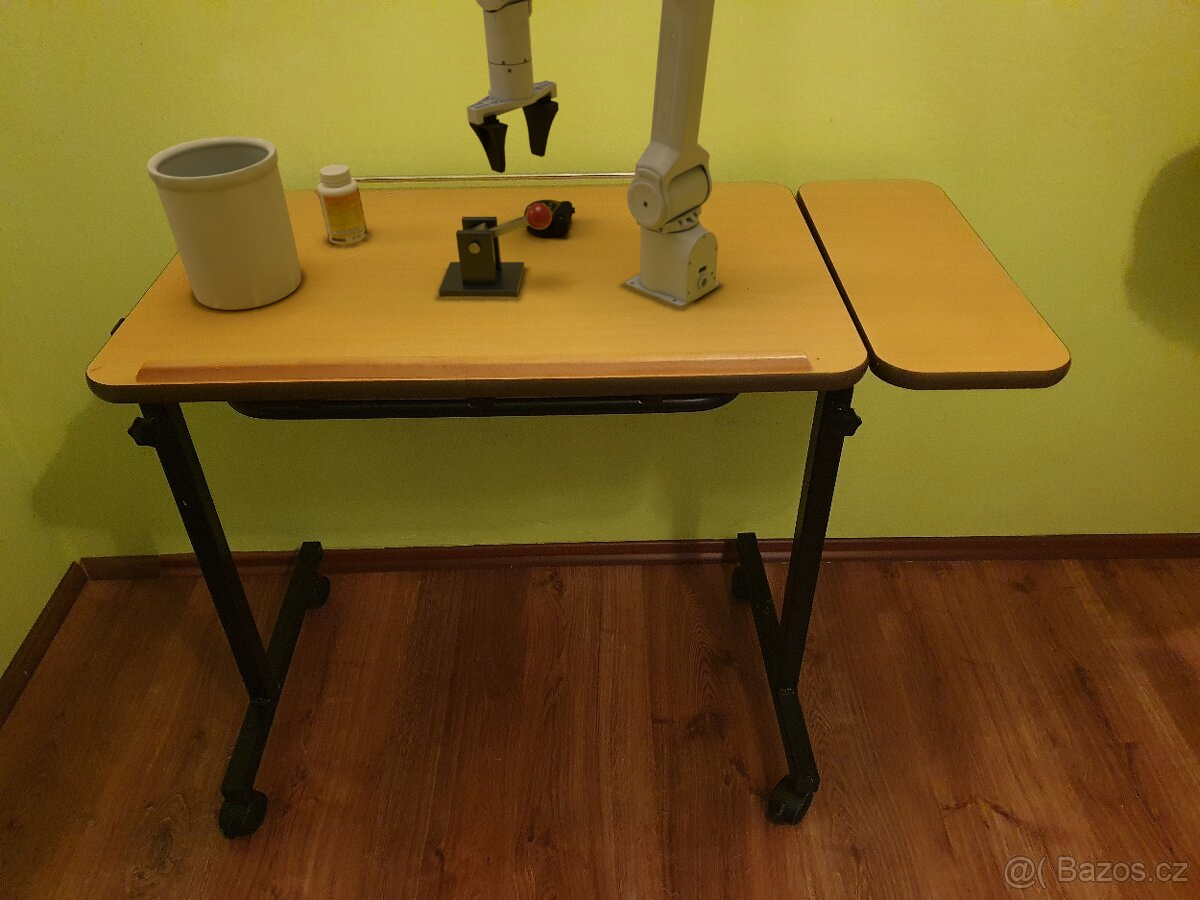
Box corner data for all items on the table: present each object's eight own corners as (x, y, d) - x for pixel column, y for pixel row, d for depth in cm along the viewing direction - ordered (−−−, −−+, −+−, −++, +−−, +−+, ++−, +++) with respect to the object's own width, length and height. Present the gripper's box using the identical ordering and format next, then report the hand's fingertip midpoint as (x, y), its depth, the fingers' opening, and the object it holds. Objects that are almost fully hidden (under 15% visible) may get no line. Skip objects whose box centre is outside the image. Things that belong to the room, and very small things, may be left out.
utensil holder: (213, 261, 126) (173, 135, 115) (319, 259, 125) (289, 132, 114) (173, 314, 114) (124, 179, 103) (290, 312, 114) (253, 176, 103)
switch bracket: (524, 270, 121) (519, 211, 116) (517, 299, 115) (512, 238, 110) (451, 269, 122) (443, 211, 117) (439, 298, 115) (430, 238, 110)
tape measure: (568, 243, 127) (567, 217, 125) (520, 240, 128) (518, 216, 126) (575, 222, 133) (574, 198, 130) (530, 220, 134) (528, 196, 131)
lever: (557, 218, 114) (547, 195, 112) (554, 228, 111) (544, 205, 110) (475, 246, 117) (464, 225, 115) (471, 258, 114) (460, 235, 113)
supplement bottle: (375, 239, 130) (361, 169, 124) (339, 250, 127) (324, 180, 121) (357, 227, 133) (343, 158, 127) (322, 237, 131) (306, 168, 124)
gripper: (528, 42, 123) (535, 142, 131) (446, 66, 114) (459, 171, 123) (565, 50, 119) (570, 152, 127) (483, 76, 111) (494, 183, 119)
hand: (518, 162), depth 125 cm, fingers open, 7 cm apart
